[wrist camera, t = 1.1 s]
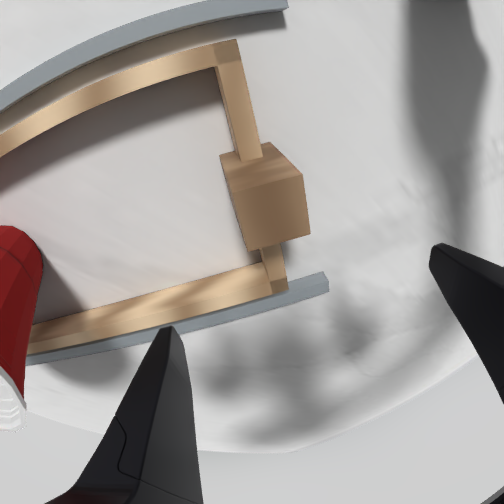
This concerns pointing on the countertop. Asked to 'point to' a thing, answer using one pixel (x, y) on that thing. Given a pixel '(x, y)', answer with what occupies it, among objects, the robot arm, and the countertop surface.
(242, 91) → the wooden rectangular frame
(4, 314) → the plastic cup
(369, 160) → the countertop surface
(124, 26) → the lane rails
